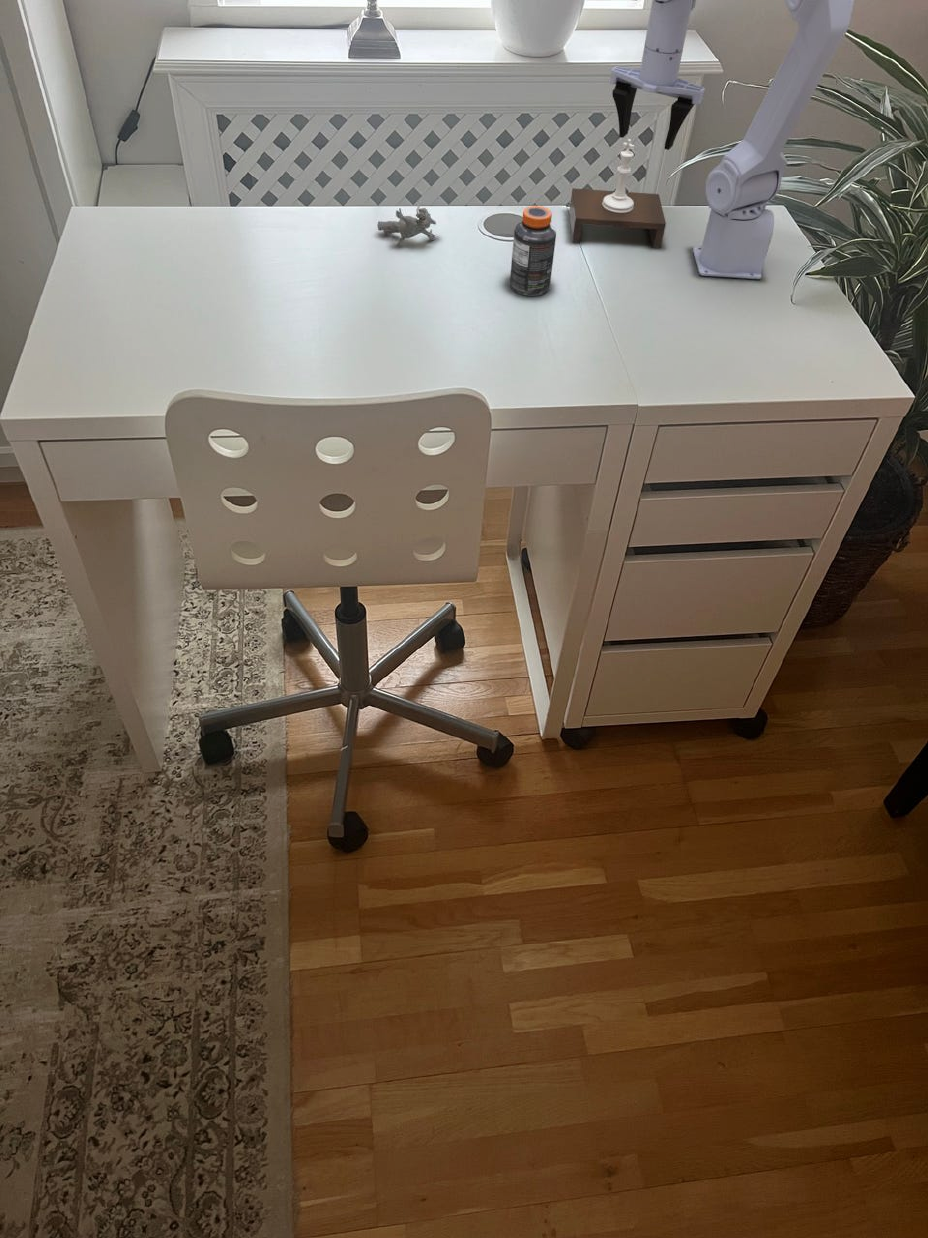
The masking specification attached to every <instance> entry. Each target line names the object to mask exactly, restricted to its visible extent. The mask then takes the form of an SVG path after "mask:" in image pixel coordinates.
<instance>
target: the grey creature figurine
mask: <svg viewBox="0 0 928 1238" xmlns="http://www.w3.org/2000/svg"><path fill="white" fill-rule="evenodd" d="M420 207H421V203H419V204H418V205H417V207H416V208H415V209H416V210H415V212H416V214H415V217H413V216H411V215H403V213H402V208H401V207H399V208H398V209H396V210H395V217H397V218H398V219H399V220H398V221H396V220H388V221H381V220H378V221H377V230H378V231H382V232H383V235H385V236H386V235H391V234H400V240H399V242H398V243H397V244H396V247H399V246H400V244H401V243H402V242H404V240H406V239H411V238H413V237H416V236H417V235H420V234H424V235H425V236H426V237H428V239H429V240H432V241H435V240H436V235H435V234H434V233H433V229H432V228H431V229H430V230H429V231H428V230H427V229H429V228H430V227H431V225H437V222H436V221H435V220H434V219H433V218H432V217H431V213H430V212H429V211H428V209H427V208H426V207H421V208H420Z"/></svg>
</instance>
